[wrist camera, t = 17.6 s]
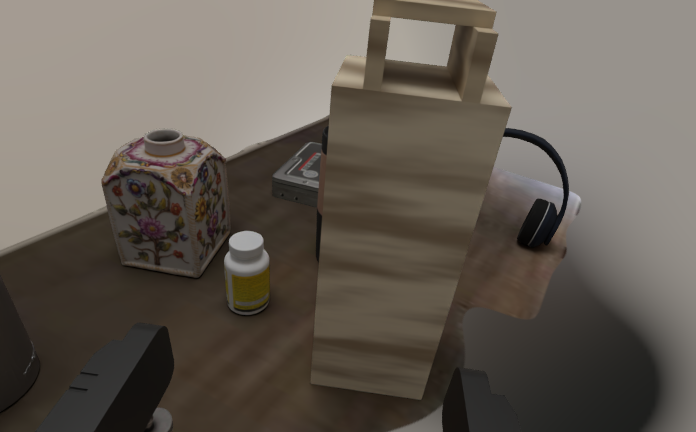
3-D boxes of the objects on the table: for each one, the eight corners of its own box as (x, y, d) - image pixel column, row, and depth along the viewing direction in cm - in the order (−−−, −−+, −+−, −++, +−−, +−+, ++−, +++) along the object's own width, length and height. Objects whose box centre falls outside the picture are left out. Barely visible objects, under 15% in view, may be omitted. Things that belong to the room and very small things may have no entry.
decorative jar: (233, 233, 67) (226, 125, 57) (200, 280, 57) (185, 160, 47) (161, 221, 68) (143, 113, 58) (118, 266, 58) (86, 145, 48)
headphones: (430, 218, 76) (453, 122, 66) (442, 203, 81) (465, 111, 72) (545, 259, 69) (590, 157, 59) (550, 239, 74) (592, 142, 64)
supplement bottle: (278, 302, 55) (278, 242, 50) (243, 323, 52) (240, 261, 46) (253, 281, 58) (251, 222, 53) (218, 300, 54) (212, 238, 49)
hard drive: (413, 233, 72) (418, 212, 70) (270, 197, 78) (270, 176, 76) (428, 187, 87) (432, 167, 85) (307, 159, 93) (308, 141, 91)
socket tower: (421, 400, 45) (538, 19, 25) (310, 383, 45) (338, -4, 25) (417, 329, 53) (503, 2, 33) (323, 316, 54) (352, -15, 34)
